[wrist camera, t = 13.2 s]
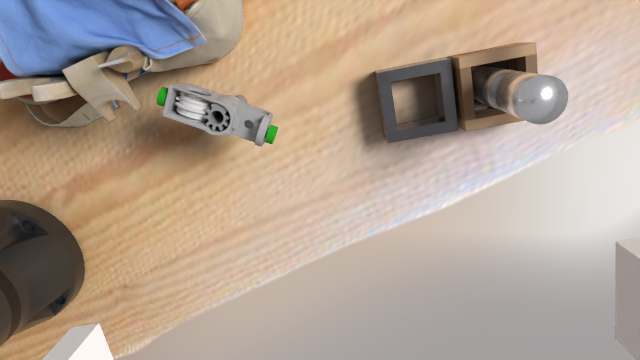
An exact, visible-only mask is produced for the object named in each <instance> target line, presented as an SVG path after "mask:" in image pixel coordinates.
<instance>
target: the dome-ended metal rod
mask: <svg viewBox="0 0 640 360" xmlns="http://www.w3.org/2000/svg"><path fill="white" fill-rule="evenodd" d="M472 86H473V97H474V100H476V101H478V102H481V103H483V104H486V105H488V106H491V107H493V108H496V109H498V110H501V111H503V112H506V113H508V114H511V115H513V116H516V117H518V118H521V119H523V120H526V121H528V122H531V123H534V124H546V123H549V122H551V121H553V120H555V119H556V118H558V117H559V116H560V115H561V114H562V112H563V111H564V109H565V107H566V105H567V101H568V91H567V88H566V86H565V84H564V83H563V82H562V81H561V80H560V79H558V78H556V77H553V76H548V75H541V74H535V73H528V72H521V71H514V70H508V69H501V68H494V67H482V68H479V69H477V70H476V71H475V72H473V74H472Z"/></svg>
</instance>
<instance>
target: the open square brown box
mask: <svg viewBox="0 0 640 360" xmlns="http://www.w3.org/2000/svg"><path fill="white" fill-rule="evenodd" d="M448 58H450V59H451V67H452V77H453V86H454V96H455V106H456V115H457V125H458V126H459V127H460V128H462V129H464V130H465V131H470V130H475V129H481V128H486V127H492V126H497V125H502V124H508V123H513V122H519V121H524V120H523V119H521V118H518V117H516V116H513V115H511V114H508V113H506V112H503V111H501V110H498V109H496V108H487V109H482V110H477V111H475V108H474V97H473V86H472V75H471V67H472V66H477V65H482V64H487V63H492V62H497V61H502V60H507V59H509V66H510V70H514V71H521V72H528V73H535V74H538V72H537V51H536V43H514V44H509V45H504V46H499V47H494V48H489V49H484V50H479V51H474V52H469V53H464V54H459V55H454V56H449V57H448Z"/></svg>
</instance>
